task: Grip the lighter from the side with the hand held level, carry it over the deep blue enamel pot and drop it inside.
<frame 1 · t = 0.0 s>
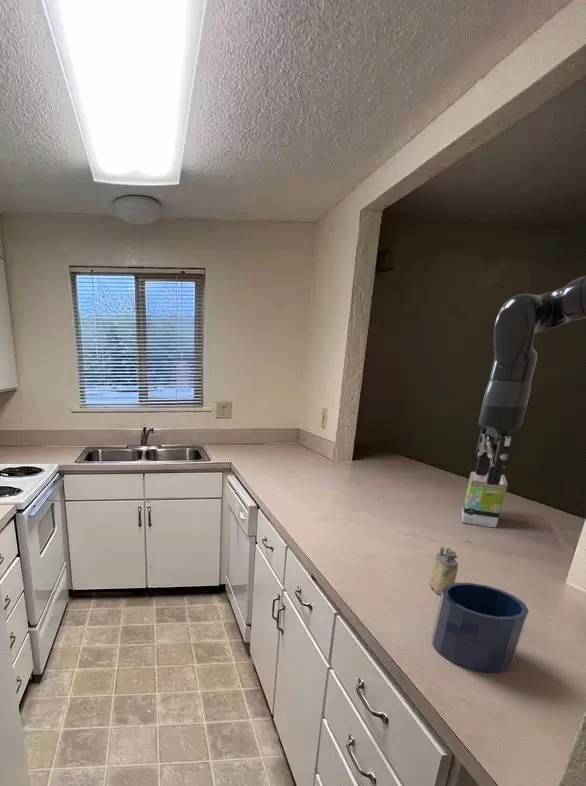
hand: (486, 479, 95), 27 cm above the countertop, tool pointing down, fingers open, 8 cm apart
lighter: (439, 590, 104), on the countertop
tea box: (478, 519, 148), on the countertop
pot: (470, 650, 82), on the countertop
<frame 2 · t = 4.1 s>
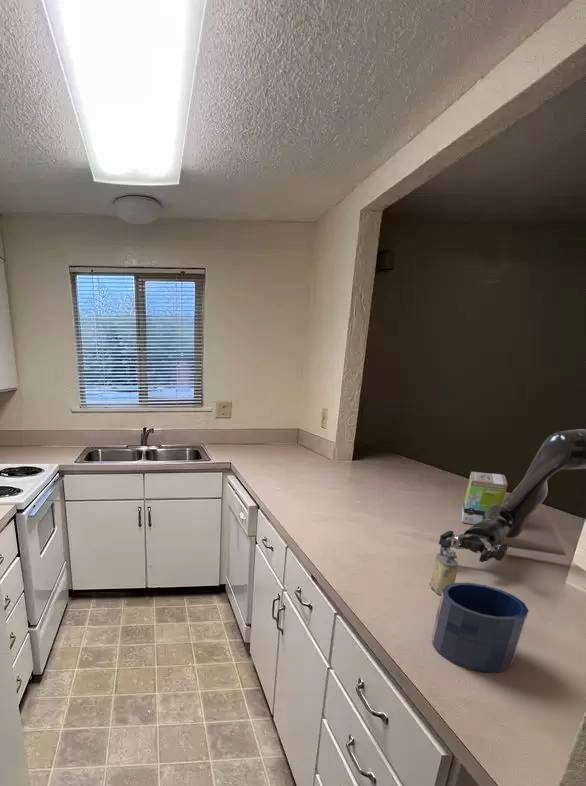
hand: (462, 552, 108), 6 cm above the countertop, tool horizontal, fingers open, 8 cm apart
nothing on the countertop moved.
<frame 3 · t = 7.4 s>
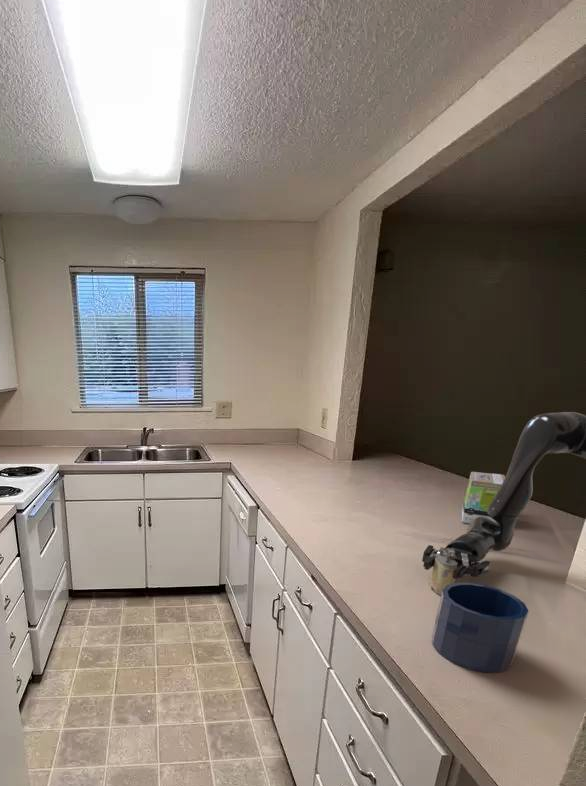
hand: (440, 570, 100), 6 cm above the countertop, tool horizontal, fingers closed on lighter, 5 cm apart
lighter: (439, 590, 104), on the countertop, touching gripper
everything else where it was.
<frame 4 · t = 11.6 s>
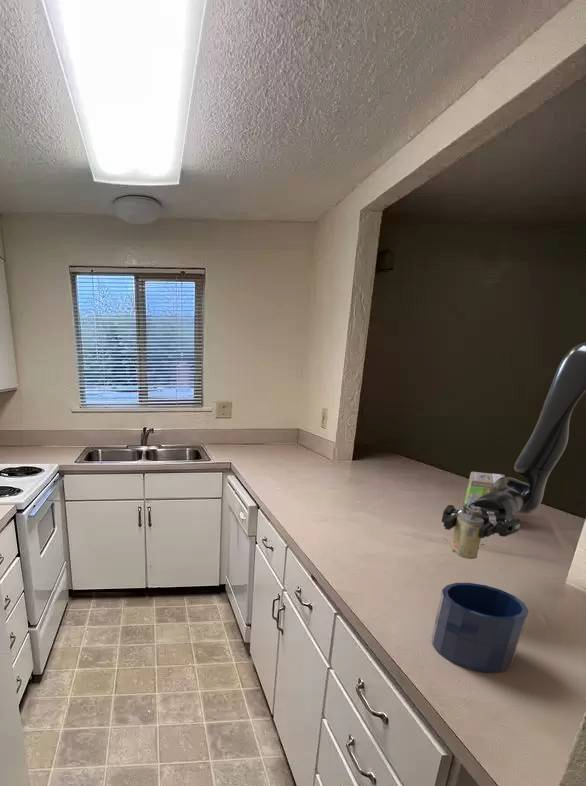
hand: (464, 529, 87), 20 cm above the countertop, tool horizontal, fingers closed on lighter, 5 cm apart
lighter: (462, 553, 91), point 13 cm above the countertop, touching gripper
everything else where it was.
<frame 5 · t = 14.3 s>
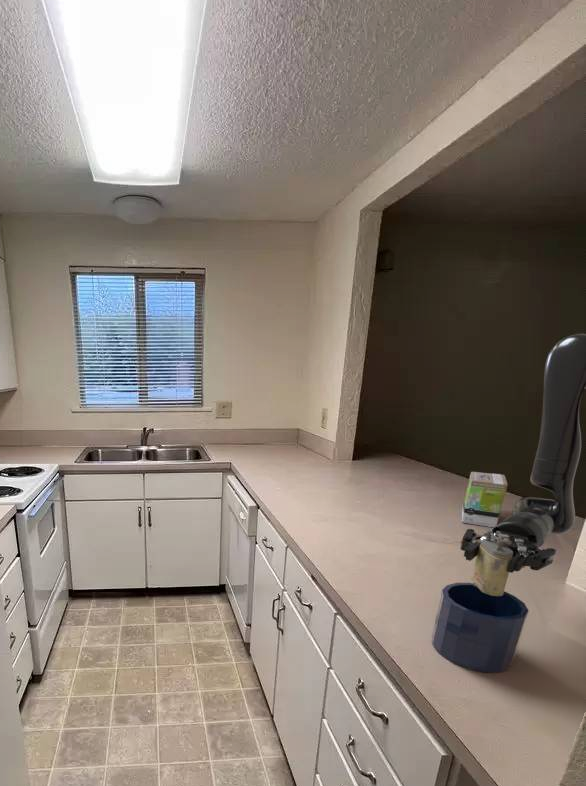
hand: (489, 560, 74), 19 cm above the countertop, tool horizontal, fingers closed on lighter, 5 cm apart
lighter: (485, 587, 77), point 13 cm above the countertop, touching gripper
everything else where it was.
when the fingers open (16 cm above the countertop, at t = 15.9 s): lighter drops 8 cm, resting on pot.
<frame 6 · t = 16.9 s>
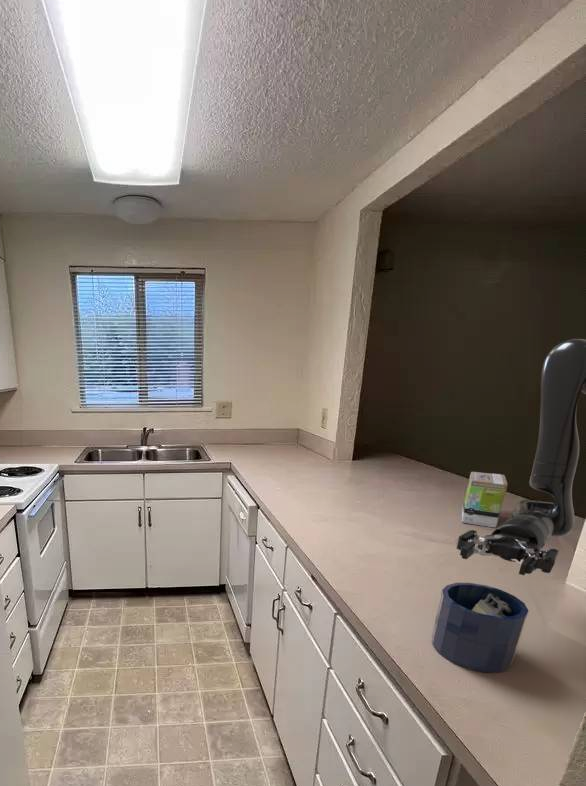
hand: (492, 561, 74), 19 cm above the countertop, tool horizontal, fingers open, 8 cm apart
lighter: (466, 643, 82), point 1 cm above the countertop, touching pot
everything else where it was.
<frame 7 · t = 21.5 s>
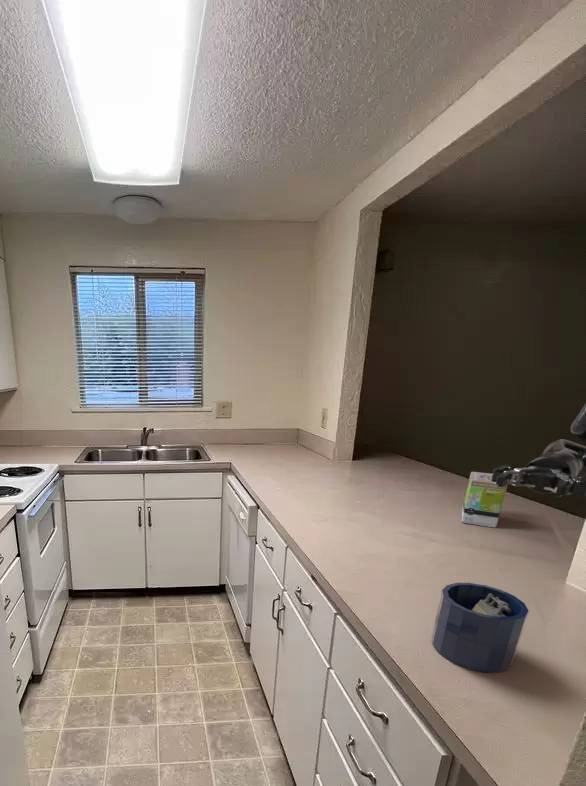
hand: (529, 486, 78), 30 cm above the countertop, tool horizontal, fingers open, 8 cm apart
nothing on the countertop moved.
at the end: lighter inside the target area in the pot (0.9 cm from its centre), point 1.0 cm above the pot's base; the gripper is holding nothing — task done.
